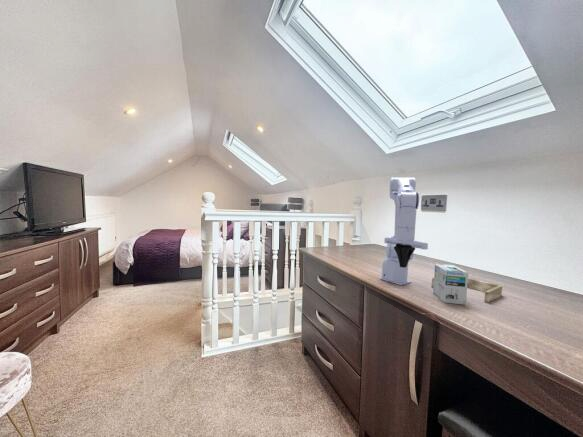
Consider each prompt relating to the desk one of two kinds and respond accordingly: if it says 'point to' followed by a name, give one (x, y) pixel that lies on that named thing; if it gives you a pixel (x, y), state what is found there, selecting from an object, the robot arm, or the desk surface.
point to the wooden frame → (484, 289)
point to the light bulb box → (450, 284)
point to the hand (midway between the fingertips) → (403, 266)
